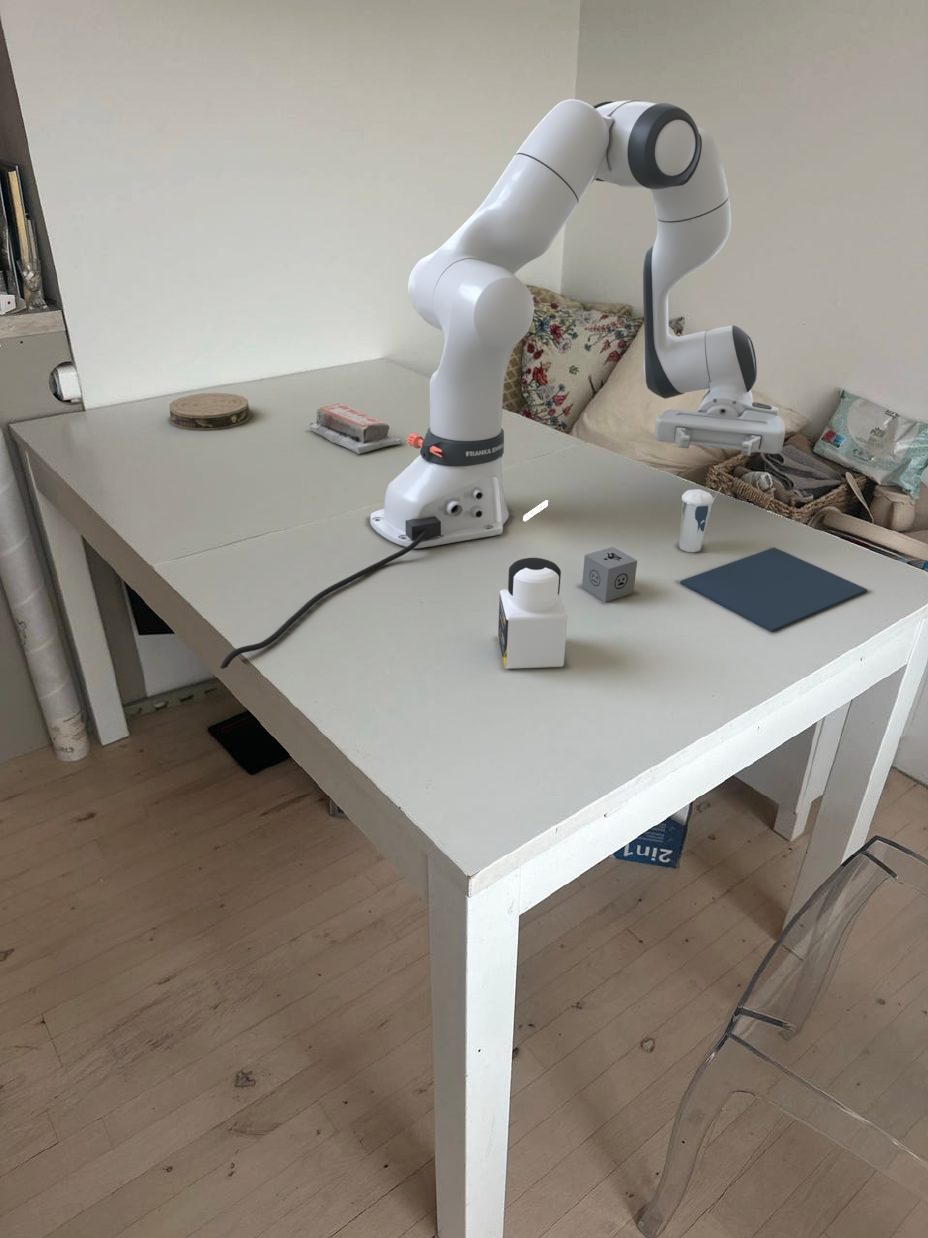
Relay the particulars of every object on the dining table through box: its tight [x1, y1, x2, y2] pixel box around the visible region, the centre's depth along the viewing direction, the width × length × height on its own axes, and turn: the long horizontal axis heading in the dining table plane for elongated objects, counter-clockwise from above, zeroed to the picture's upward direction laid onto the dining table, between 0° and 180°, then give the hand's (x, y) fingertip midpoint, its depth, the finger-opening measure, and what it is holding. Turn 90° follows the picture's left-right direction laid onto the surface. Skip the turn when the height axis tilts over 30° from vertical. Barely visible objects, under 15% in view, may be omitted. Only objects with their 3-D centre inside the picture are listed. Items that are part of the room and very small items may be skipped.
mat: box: [679, 547, 868, 633], centre depth 127 cm, size 20×16×1 cm
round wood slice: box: [168, 392, 251, 431], centre depth 188 cm, size 16×16×3 cm
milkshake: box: [678, 487, 722, 553], centre depth 135 cm, size 4×5×10 cm
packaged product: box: [309, 403, 402, 455], centre depth 178 cm, size 18×5×10 cm
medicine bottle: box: [497, 557, 569, 670], centre depth 108 cm, size 7×7×12 cm
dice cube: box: [581, 546, 638, 603], centre depth 124 cm, size 5×5×5 cm
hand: (714, 446), depth 141 cm, fingers open, 8 cm apart
